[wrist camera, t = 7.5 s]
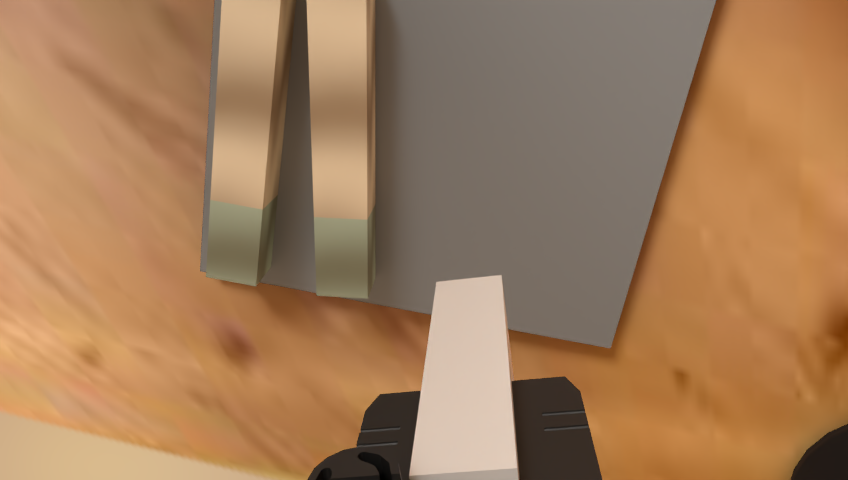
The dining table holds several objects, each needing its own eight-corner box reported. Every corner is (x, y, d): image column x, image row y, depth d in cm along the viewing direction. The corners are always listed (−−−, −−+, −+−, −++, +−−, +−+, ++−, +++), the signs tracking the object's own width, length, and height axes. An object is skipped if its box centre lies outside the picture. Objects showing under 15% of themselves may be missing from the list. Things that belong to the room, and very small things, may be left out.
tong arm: (319, -38, 30) (305, -40, 27) (375, -36, 30) (365, -39, 27) (327, 275, 35) (316, 295, 33) (375, 278, 35) (367, 298, 32)
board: (235, -202, 29) (225, -209, 28) (741, -113, 29) (751, -118, 27) (208, 262, 37) (200, 271, 36) (606, 337, 36) (610, 348, 35)
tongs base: (253, -182, 28) (213, -213, 24) (369, -162, 28) (349, -189, 24) (224, 258, 35) (189, 294, 31) (317, 275, 35) (294, 313, 31)
